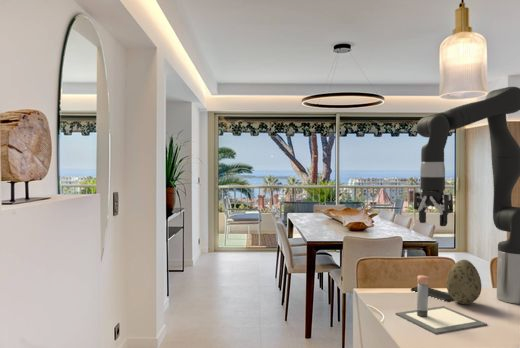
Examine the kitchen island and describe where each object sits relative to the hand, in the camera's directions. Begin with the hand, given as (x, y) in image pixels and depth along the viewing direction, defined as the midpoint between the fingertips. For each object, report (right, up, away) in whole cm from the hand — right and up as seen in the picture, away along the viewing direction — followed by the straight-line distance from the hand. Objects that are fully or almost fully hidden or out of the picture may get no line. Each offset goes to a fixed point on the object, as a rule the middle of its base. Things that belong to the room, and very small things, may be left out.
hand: (432, 224), depth 132 cm
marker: (-8, -27, -10) cm, 30 cm away
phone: (+6, -28, +14) cm, 32 cm away
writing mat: (-3, -28, -12) cm, 30 cm away
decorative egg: (+12, -28, +4) cm, 31 cm away
